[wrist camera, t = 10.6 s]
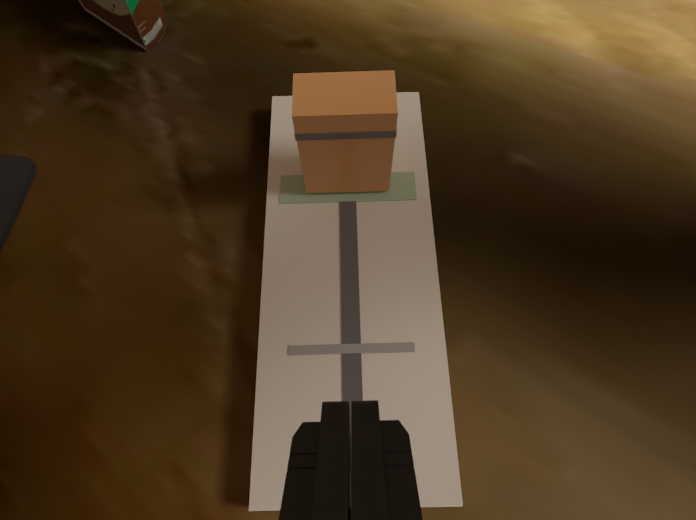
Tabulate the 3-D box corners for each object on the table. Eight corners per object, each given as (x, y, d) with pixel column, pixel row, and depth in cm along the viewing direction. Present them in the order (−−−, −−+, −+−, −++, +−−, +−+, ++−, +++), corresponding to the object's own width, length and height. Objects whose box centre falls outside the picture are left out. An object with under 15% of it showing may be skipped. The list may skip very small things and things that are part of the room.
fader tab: (389, 191, 33) (398, 113, 26) (306, 193, 33) (291, 117, 26) (387, 154, 35) (395, 69, 27) (306, 156, 35) (292, 72, 27)
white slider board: (455, 503, 27) (463, 506, 26) (255, 507, 28) (248, 511, 26) (415, 109, 39) (418, 90, 37) (276, 113, 40) (272, 95, 38)
